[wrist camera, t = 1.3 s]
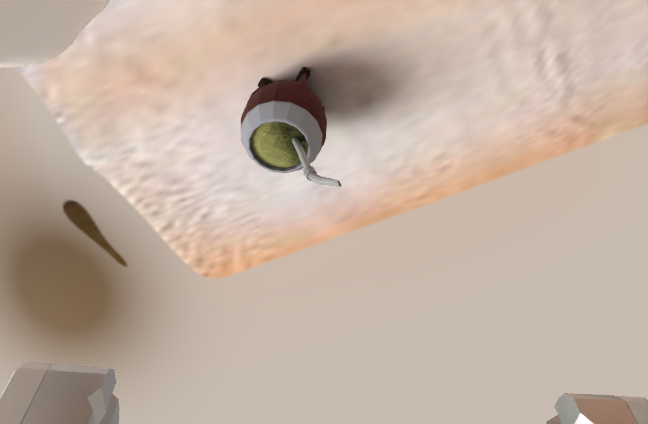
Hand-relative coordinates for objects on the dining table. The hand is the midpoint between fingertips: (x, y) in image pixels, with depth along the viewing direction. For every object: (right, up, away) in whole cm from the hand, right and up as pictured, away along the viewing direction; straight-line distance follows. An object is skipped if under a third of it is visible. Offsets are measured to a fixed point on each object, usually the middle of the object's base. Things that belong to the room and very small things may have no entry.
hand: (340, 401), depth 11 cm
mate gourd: (-3, +14, +41) cm, 44 cm away
